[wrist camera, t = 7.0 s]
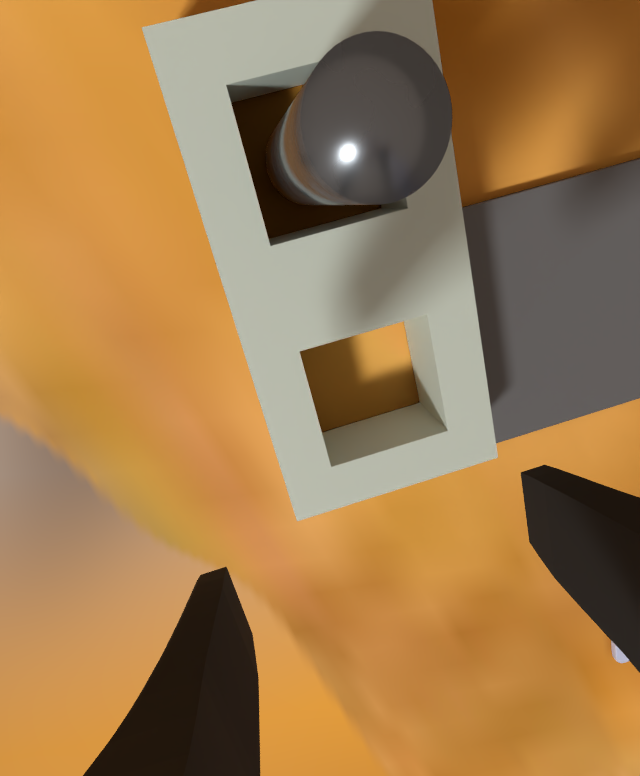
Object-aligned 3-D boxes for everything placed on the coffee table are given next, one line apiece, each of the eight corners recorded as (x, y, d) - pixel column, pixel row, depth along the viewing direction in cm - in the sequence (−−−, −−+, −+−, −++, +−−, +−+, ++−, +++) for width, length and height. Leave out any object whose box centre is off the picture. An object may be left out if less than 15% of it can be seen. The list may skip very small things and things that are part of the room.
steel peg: (360, 188, 19) (467, 174, 11) (283, 217, 19) (330, 226, 11) (334, 99, 18) (430, 7, 10) (252, 129, 18) (277, 62, 10)
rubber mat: (692, 376, 24) (700, 378, 24) (489, 440, 24) (493, 443, 23) (694, 143, 21) (702, 141, 20) (454, 209, 20) (459, 209, 20)
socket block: (464, 427, 23) (497, 457, 20) (288, 482, 22) (297, 521, 20) (394, -1, 17) (426, -41, 15) (155, 57, 17) (141, 27, 14)
